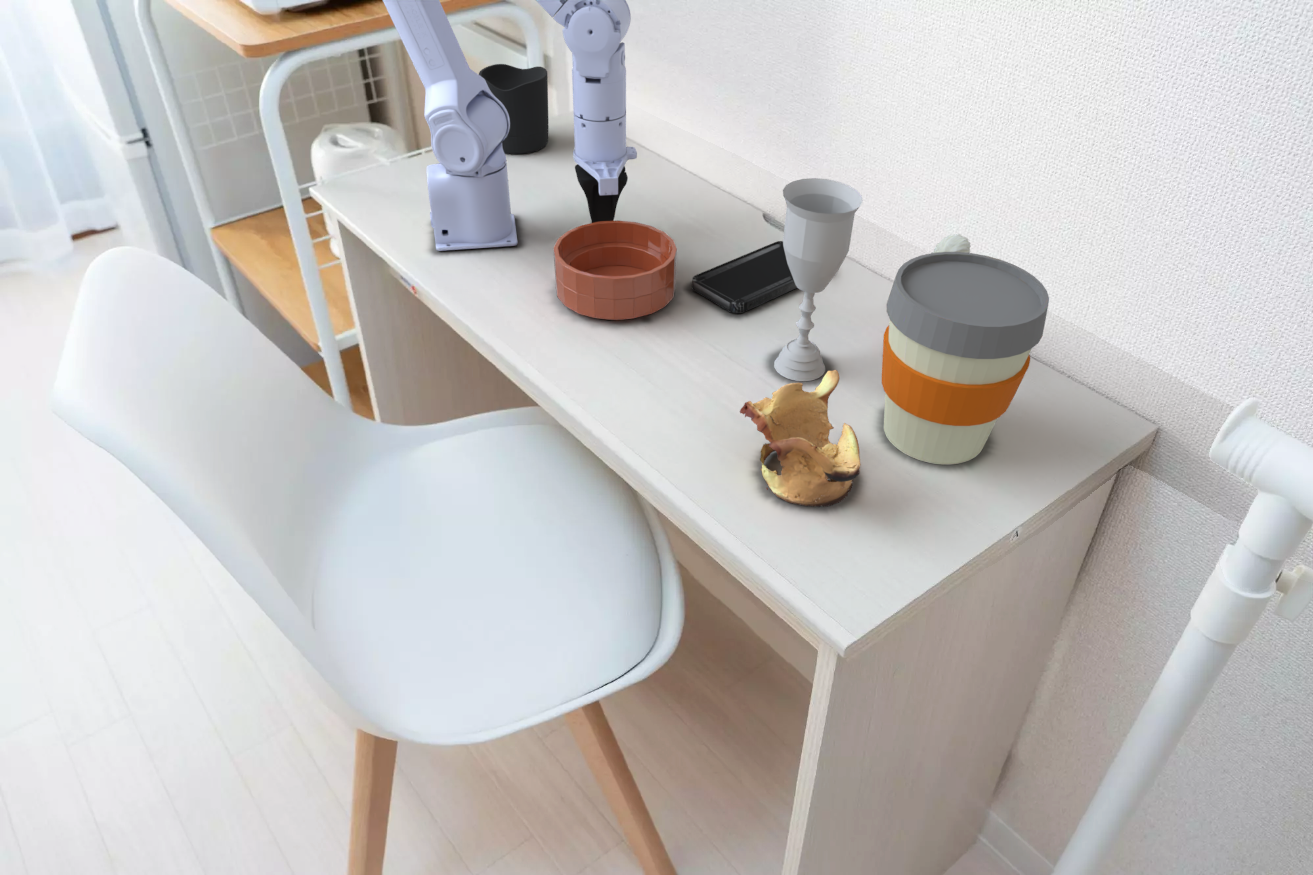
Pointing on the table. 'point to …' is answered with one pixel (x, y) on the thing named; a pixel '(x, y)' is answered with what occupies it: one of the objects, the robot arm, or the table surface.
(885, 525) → the table surface
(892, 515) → the table surface
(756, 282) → the phone
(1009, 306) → the reusable coffee cup
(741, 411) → the yellow irregular figure
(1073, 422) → the table surface
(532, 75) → the pen holder
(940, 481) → the table surface
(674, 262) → the bowl
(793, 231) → the chalice
